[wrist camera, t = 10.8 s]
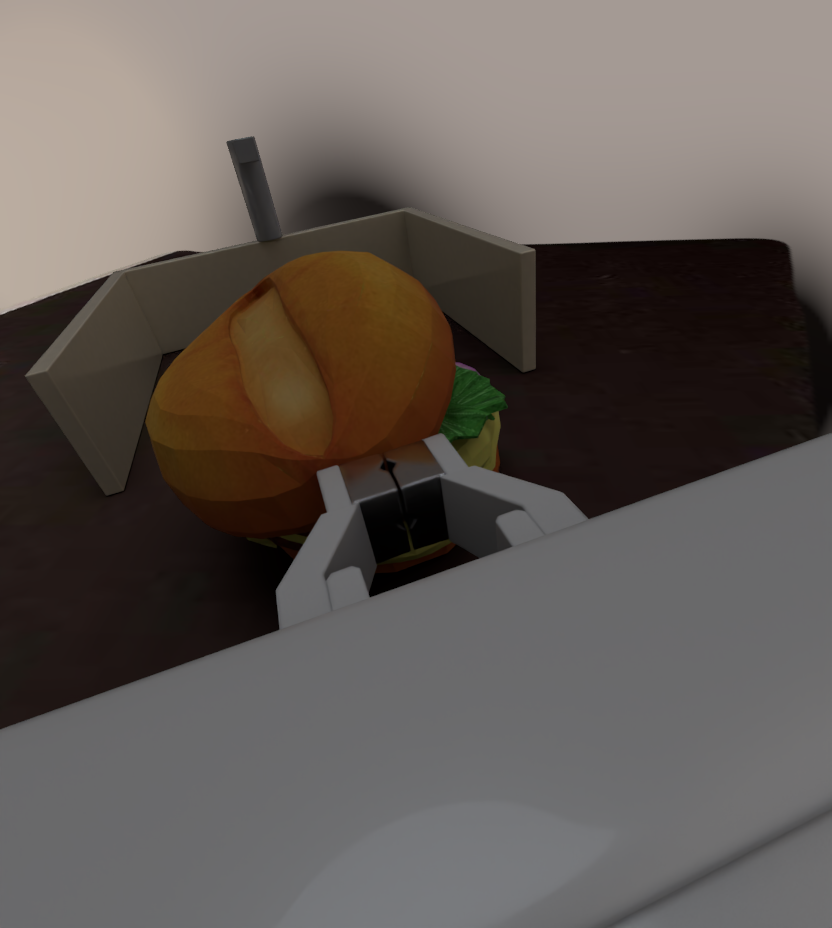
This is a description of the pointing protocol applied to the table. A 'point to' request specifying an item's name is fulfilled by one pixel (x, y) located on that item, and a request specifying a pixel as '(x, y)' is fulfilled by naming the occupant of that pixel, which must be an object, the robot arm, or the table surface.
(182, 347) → the grey u-shaped wall
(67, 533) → the table surface
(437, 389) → the cheeseburger
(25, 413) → the table surface
